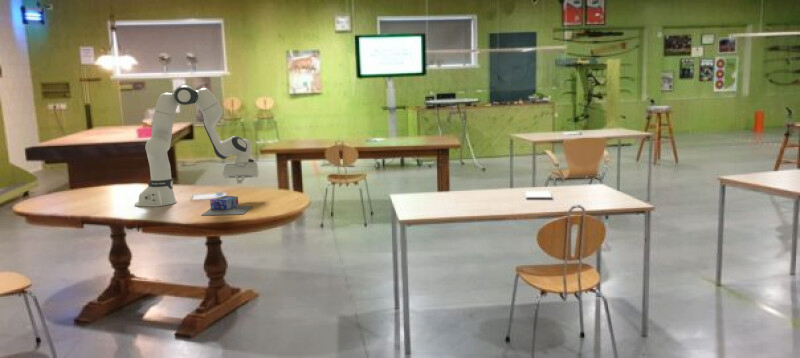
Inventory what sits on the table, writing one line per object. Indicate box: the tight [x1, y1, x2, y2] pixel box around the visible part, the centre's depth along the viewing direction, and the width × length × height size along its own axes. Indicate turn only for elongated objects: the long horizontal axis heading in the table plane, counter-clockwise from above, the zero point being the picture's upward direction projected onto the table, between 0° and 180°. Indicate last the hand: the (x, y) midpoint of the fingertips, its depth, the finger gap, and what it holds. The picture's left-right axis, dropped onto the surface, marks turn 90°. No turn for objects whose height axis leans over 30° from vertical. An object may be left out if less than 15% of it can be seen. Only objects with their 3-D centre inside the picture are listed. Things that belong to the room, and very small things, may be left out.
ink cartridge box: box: [209, 195, 239, 210], centre depth 350 cm, size 10×6×14 cm
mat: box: [201, 205, 253, 217], centre depth 344 cm, size 22×20×1 cm
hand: (239, 183), depth 369 cm, fingers closed
